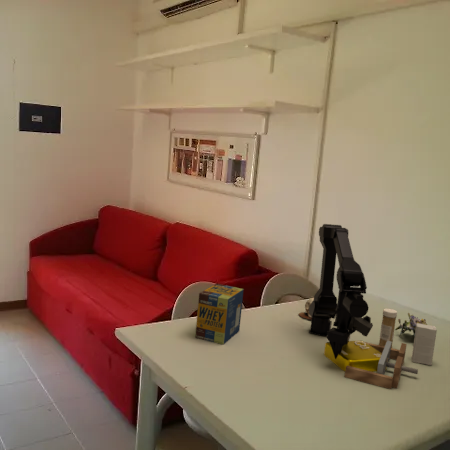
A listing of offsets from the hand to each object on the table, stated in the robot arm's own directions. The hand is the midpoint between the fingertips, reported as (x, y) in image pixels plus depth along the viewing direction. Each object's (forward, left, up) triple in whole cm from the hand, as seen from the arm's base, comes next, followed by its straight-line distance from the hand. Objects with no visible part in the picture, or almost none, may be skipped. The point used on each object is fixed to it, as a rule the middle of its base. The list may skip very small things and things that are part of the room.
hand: (340, 354), depth 157 cm
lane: (+11, 0, -2) cm, 11 cm away
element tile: (+5, +1, -2) cm, 5 cm away
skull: (-18, +37, -2) cm, 41 cm away
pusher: (+18, 0, -1) cm, 18 cm away
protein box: (-40, -5, -2) cm, 41 cm away
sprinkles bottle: (+12, +20, -2) cm, 23 cm away
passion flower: (+19, +35, -2) cm, 40 cm away
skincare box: (+24, +15, -2) cm, 28 cm away
